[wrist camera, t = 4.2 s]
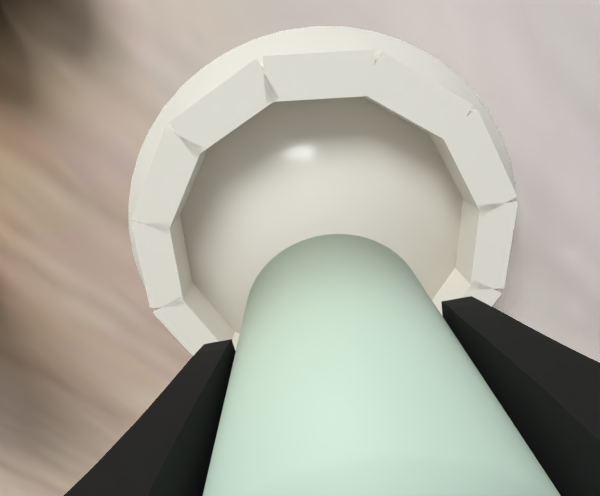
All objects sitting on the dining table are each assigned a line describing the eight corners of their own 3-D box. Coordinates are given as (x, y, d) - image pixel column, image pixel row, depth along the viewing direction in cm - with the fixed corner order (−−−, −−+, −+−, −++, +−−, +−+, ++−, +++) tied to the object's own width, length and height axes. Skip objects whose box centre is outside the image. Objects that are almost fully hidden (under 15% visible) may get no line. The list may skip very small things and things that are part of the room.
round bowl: (588, 153, 14) (631, 164, 12) (382, 422, 19) (392, 459, 17) (221, -67, 12) (208, -94, 10) (88, 308, 16) (63, 337, 15)
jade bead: (423, 223, 9) (628, 433, 4) (424, 380, 11) (566, 698, 5) (231, 245, 9) (134, 480, 4) (260, 397, 11) (222, 723, 5)
